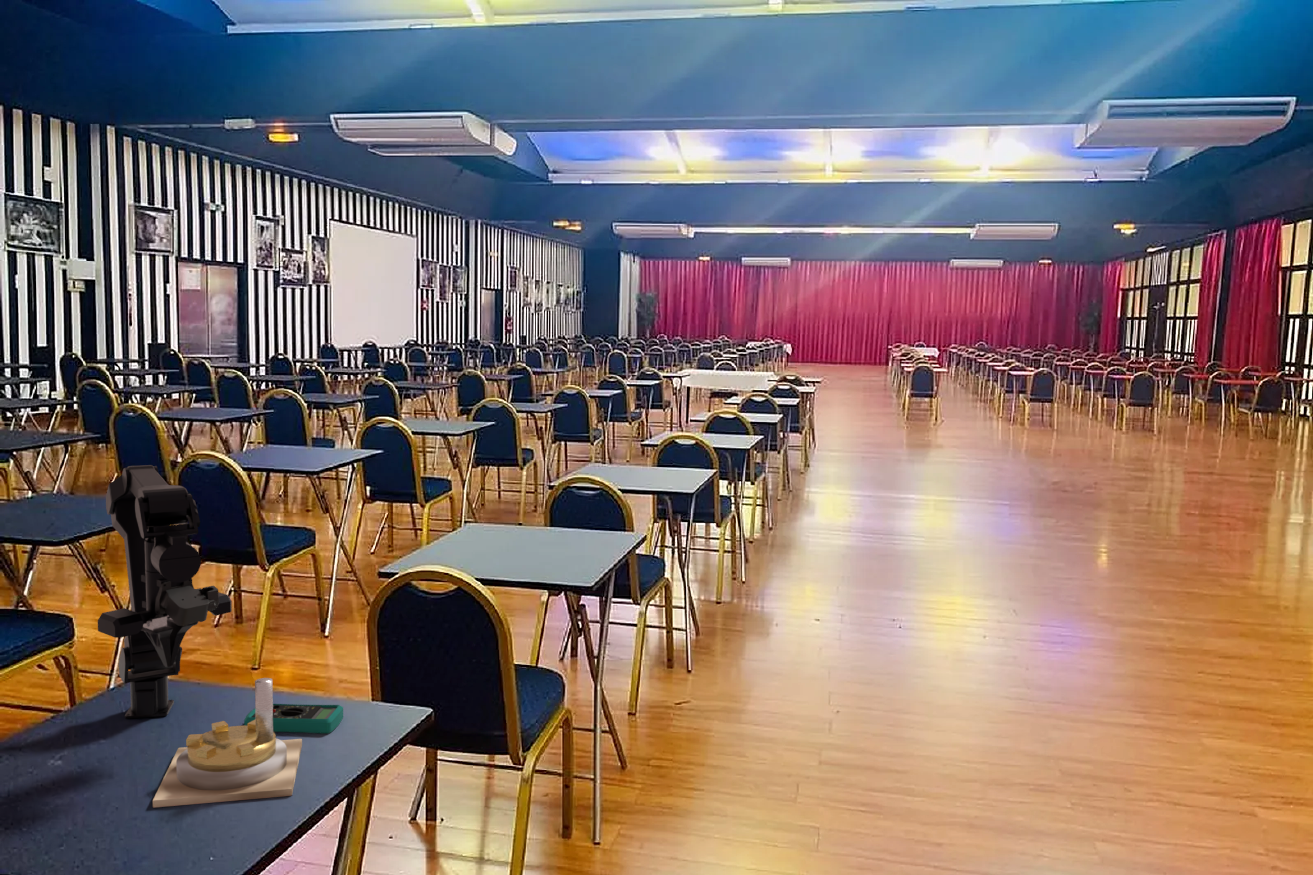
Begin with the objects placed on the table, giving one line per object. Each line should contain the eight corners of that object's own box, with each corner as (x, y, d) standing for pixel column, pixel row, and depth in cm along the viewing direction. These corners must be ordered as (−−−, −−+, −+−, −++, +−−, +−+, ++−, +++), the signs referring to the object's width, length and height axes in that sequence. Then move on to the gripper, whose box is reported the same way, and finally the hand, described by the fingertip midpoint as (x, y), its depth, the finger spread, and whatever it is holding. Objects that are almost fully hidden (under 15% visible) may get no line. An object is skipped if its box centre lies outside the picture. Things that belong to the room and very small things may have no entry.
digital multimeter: (258, 717, 174) (257, 700, 174) (345, 719, 174) (345, 702, 173) (240, 734, 167) (239, 717, 166) (331, 736, 167) (331, 719, 166)
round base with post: (239, 731, 159) (238, 663, 158) (294, 748, 153) (293, 677, 152) (168, 760, 148) (166, 686, 147) (225, 779, 142) (223, 703, 141)
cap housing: (178, 754, 157) (178, 735, 157) (302, 744, 162) (301, 726, 162) (152, 807, 140) (152, 786, 140) (292, 795, 145) (291, 775, 144)
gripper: (133, 588, 146) (136, 694, 148) (251, 566, 161) (252, 662, 163) (94, 576, 152) (97, 678, 154) (210, 555, 167) (213, 648, 169)
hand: (168, 666), depth 160 cm, fingers closed
